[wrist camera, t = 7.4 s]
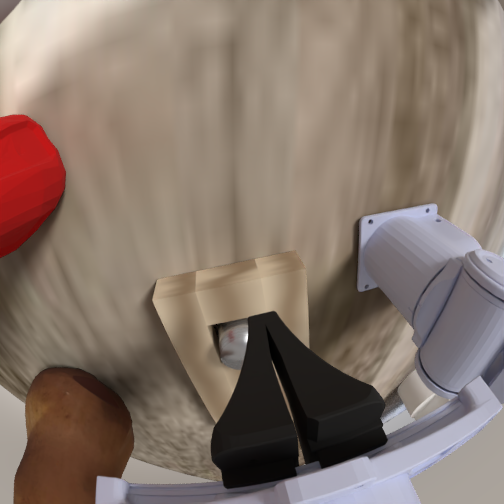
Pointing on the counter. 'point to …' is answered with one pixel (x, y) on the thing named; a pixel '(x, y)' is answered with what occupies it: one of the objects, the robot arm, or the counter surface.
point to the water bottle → (26, 180)
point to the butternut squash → (71, 438)
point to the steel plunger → (233, 342)
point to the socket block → (228, 315)
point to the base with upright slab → (418, 396)
